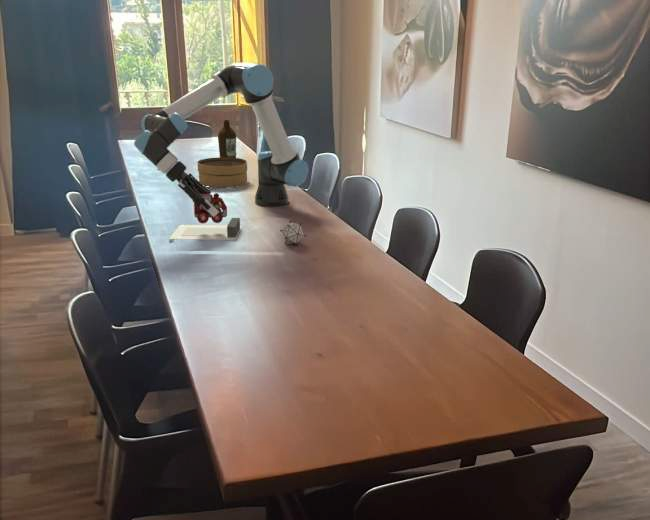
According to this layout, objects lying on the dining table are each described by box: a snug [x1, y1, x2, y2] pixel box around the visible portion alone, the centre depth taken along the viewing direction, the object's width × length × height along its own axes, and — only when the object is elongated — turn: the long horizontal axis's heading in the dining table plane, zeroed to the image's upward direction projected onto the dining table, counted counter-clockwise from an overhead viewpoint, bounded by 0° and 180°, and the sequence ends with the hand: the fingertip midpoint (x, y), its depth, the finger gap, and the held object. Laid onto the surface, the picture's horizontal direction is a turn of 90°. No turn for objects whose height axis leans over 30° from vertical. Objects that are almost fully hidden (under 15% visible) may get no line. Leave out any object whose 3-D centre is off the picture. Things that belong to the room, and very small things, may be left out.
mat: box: [168, 224, 242, 243], centre depth 234 cm, size 24×18×1 cm
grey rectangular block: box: [227, 217, 241, 238], centre depth 233 cm, size 3×12×4 cm, turn 179°
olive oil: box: [217, 118, 237, 158], centre depth 364 cm, size 11×11×25 cm
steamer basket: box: [197, 156, 248, 188], centre depth 315 cm, size 25×25×11 cm
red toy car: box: [192, 192, 228, 224], centre depth 230 cm, size 7×12×10 cm, turn 101°
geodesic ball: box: [279, 220, 307, 247], centre depth 224 cm, size 9×8×10 cm
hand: (218, 211), depth 231 cm, fingers closed on red toy car, 7 cm apart
